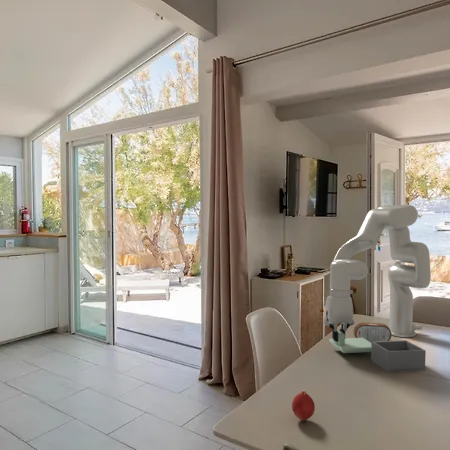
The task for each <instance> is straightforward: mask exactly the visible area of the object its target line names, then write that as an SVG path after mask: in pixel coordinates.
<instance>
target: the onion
mask: <svg viewBox="0 0 450 450" xmlns="http://www.w3.org/2000/svg"><path fill="white" fill-rule="evenodd" d="M291 411H292V412H293V414H294V415H295V416H296V417H297V419H299V420H300V421H301V422H306V421H308V419H310V418H311V417H313V415H314V413H315V411H316V406H315V401H314V400H313V398H312V397H311V395H309V394H308V393H307V391H305V390H302V391H301V392H300V393H298V394H296V395H295V396H294V398H293V400H292V403H291Z"/></svg>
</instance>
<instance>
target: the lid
mask: <svg viewBox="0 0 450 450" xmlns="http://www.w3.org/2000/svg"><path fill="white" fill-rule="evenodd" d="M339 330H340V329H337V331H338V342H336V341H334V340H333V338H329V339H328V341H329V342H330V344H332V345H333V346H334V347H335V348H336V349H338V350H339V351H340V352H341V353H343V354H350V353H371V343H370V342H369V341H367V340H366V339H364V338H355V337H347V338H346V333H345V334H344V333H342V332H340V331H339Z"/></svg>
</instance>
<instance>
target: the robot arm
mask: <svg viewBox="0 0 450 450" xmlns="http://www.w3.org/2000/svg"><path fill="white" fill-rule="evenodd" d="M418 218H419V213H418V210H417V208H416V207H415V206H414V205H411V204H386V205H381V206H379V207H377V208H372V209H370V210H369V211H368V212H367V213H366V215H365V218H364V220H363V221H362V224H361V225H360V228H359V230H358V232H357V234H356V236H354V237H352V238H351V239H349V240H348V241H347V242H346V243H344V244H343V245H342V246H341V247H340V248H339V249H338V251H336V254H335V256H334V258H333V260H332V262H331V263H330V265H329V266H330V267H329V269H330V270H329V295H328V296H327V297H326V301H325V307H324V321H323V325H325V326H326V327H329V328H330V329H331V330H332V331H331V333H332V336H331V339H333V340H334V341H336V342H338V331H337V330H339V331H340V332H342V333H344V334H345V335H346V332H347V331H348V329H349V327H352V326H353V325H355V321H354V306H353V300H352V297H351V294H352V295H353V293H354V291H353V289H352V290H351V280H353V281H354V280H355V281H356V280H358V281H359V280H364V278H366V277H367V276H368V274H369V267H368V265H367V264H366V262H364V261H361V260H358V259H357V260H356V259H350V258H352V257H353V256H354V255H356V254H358V253H361V252H363V251H367V250H369V249H370V250H371V249H372V248H374V247H376V246H377V244H378V242H379V240H380V237H381V236H382V233H383V231H384V230H387V231H388V238H389V251H390V252H389V253H390V258H391V259H392V260H393V261H394V262H398V263H396V264H393V265H391V266H390V267H389V269H388V273H387V274H388V275H387V276H388V282H389V294H390V295H389V325H388V328H389V329H390V331H391V336H393V337H399V338H414V337H415V336H417V332H416V331H417V330H418V331H420V330H421V331H422V330H423V326H422V325H420V324H419V325H417V324H413V317H414V316H413V311H414V307H413V306H414V305H413V304H414V295H413V292H412V290H411V289H410V288H415V289H426V288H428V287H429V285H430V284H431V278H432V277H431V275H432V274H431V273H432V271H431V258H430V251H429V248H428V245H427V244H425V243H423V242H420V241H411V234H410V229H409V226H412V225H414V224H415V223H416V222H417V220H418ZM402 263H403V264H402ZM405 263H407V264H405ZM411 264H414V265H411ZM338 324H340V329H338Z"/></svg>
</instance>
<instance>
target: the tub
mask: <svg viewBox="0 0 450 450" xmlns="http://www.w3.org/2000/svg"><path fill="white" fill-rule="evenodd" d="M370 353H371V354H370V361H371V362H373V363H374V364H375V365H376V366H379V368H381V369H383V371H385V372H387V373H397V372H398V373H400V372H420V371H426V355H427V354H426V349H424V348H422V347H420V346H418V345H417V344H415V343H412V342H410V341H408V340H404V339H403V340H390V341H375V342H371V352H370Z"/></svg>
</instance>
